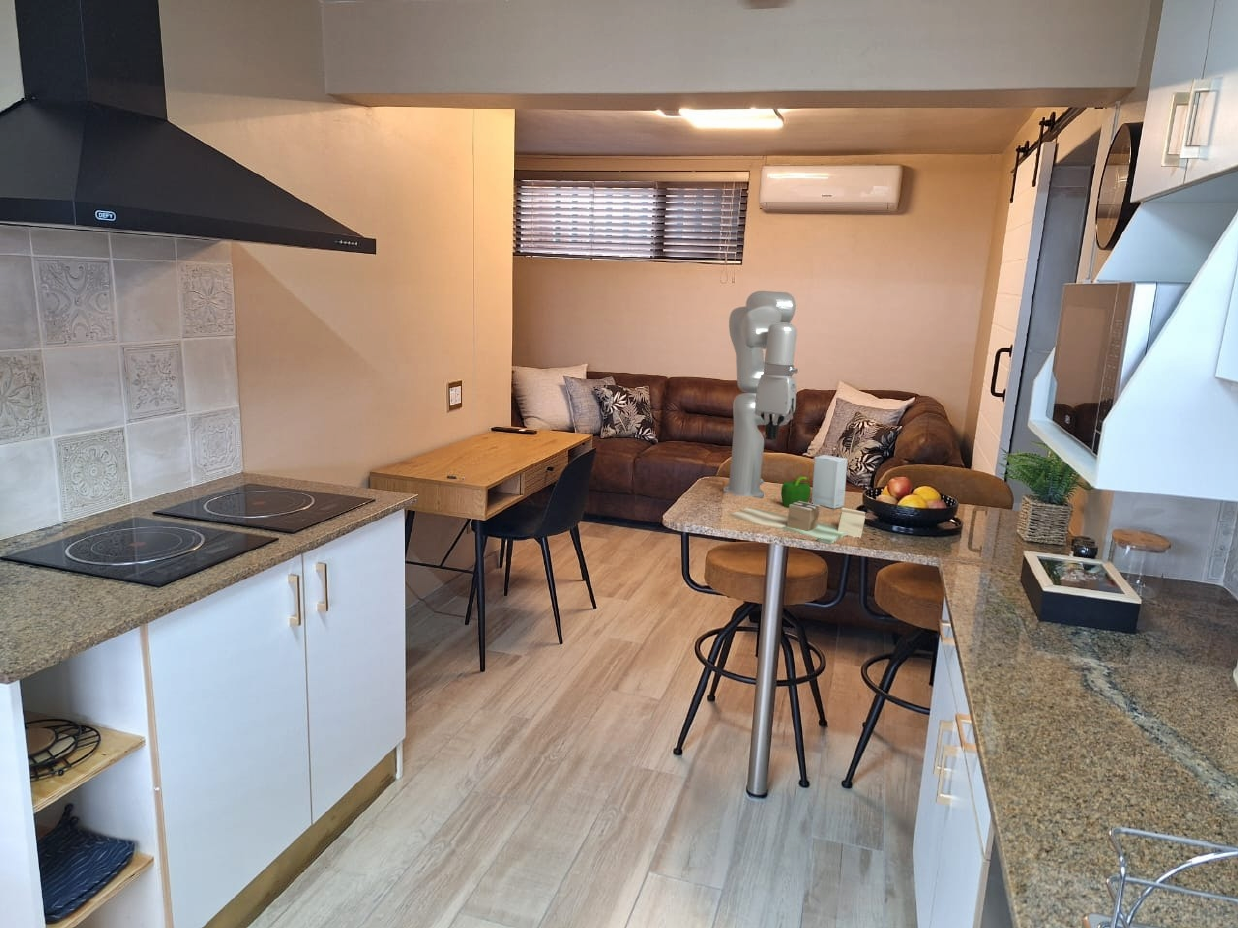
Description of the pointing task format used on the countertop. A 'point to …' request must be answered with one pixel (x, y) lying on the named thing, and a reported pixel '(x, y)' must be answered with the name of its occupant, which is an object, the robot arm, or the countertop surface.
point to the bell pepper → (795, 492)
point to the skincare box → (829, 481)
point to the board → (780, 521)
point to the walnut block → (803, 516)
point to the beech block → (851, 522)
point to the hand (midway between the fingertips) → (771, 438)
